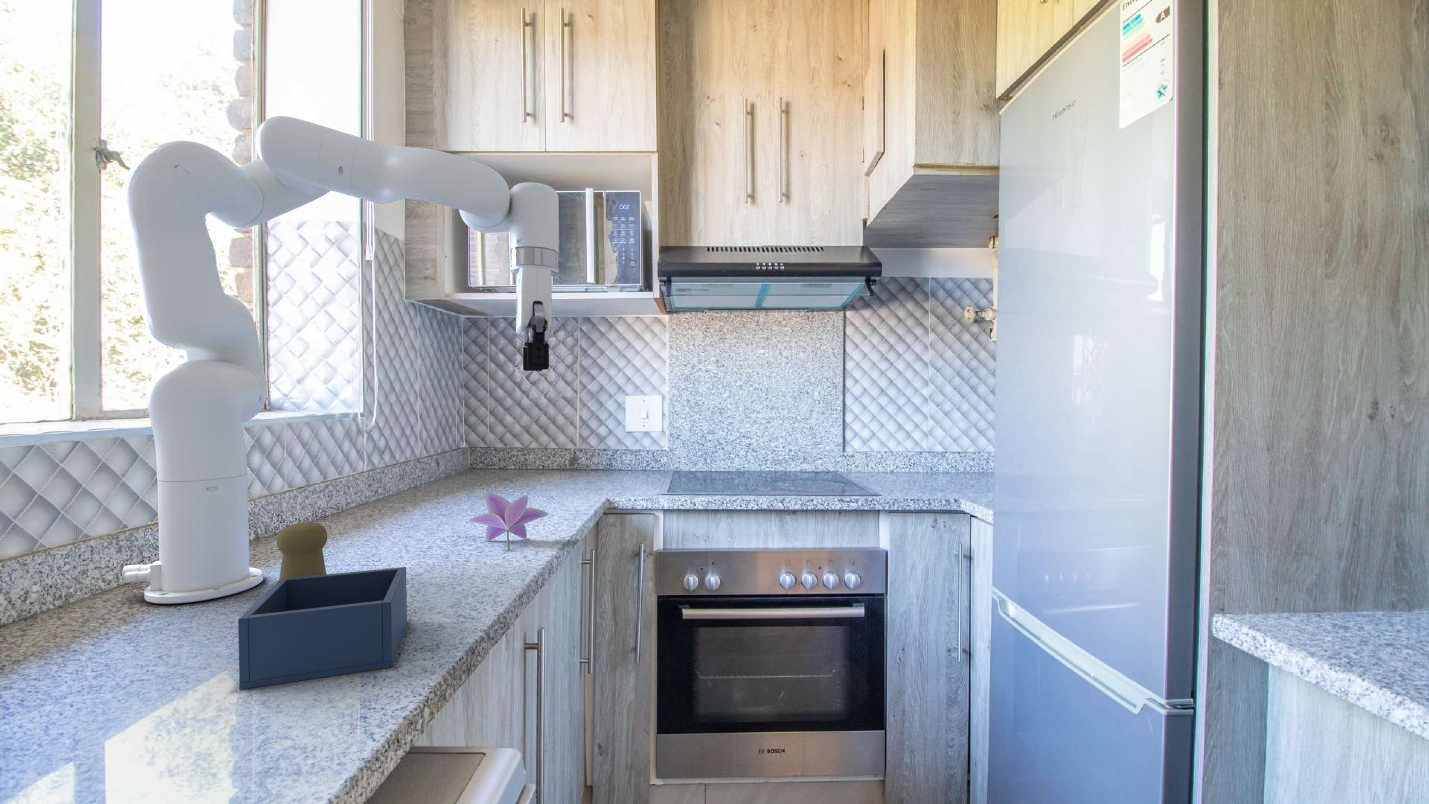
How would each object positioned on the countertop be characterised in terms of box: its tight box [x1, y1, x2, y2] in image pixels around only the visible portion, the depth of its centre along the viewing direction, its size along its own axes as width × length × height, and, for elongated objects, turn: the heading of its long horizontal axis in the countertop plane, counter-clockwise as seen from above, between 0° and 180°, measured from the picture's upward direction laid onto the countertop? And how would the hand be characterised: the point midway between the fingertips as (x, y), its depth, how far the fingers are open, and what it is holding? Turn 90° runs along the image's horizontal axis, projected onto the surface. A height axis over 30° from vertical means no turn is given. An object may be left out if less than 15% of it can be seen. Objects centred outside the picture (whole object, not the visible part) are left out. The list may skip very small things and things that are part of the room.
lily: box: [469, 491, 549, 551], centre depth 107 cm, size 12×12×10 cm
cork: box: [276, 522, 328, 581], centre depth 75 cm, size 6×6×11 cm
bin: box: [237, 566, 408, 690], centre depth 64 cm, size 13×13×7 cm
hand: (535, 370), depth 98 cm, fingers open, 9 cm apart
